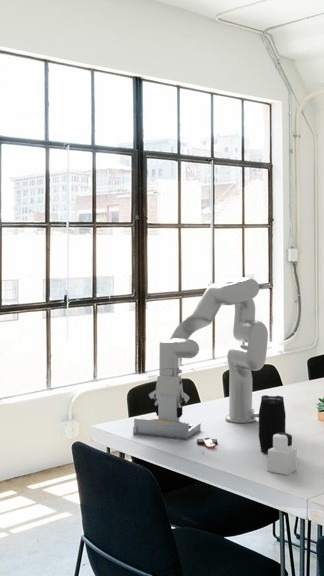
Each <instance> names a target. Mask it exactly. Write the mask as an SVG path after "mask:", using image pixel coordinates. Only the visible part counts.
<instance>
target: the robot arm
mask: <svg viewBox="0 0 324 576" xmlns="http://www.w3.org/2000/svg"><path fill="white" fill-rule="evenodd" d="M259 292H260V285H259V283H258V281H257V280H256V279H253V278H251V277H241V276H239V277H238V276H237V277H236V276H234V277H229V278H227V279H226V280H225V282H224V283H212V284H209V285H208V287H206V290H205V291H204V293H203V294H202V296H201V298H200V300H199V301H198V303H197V305H196V307H195V309H194V311H193V312H192V313H191V314H189V316H187V317H186V318H184V320H183V321H182V322H180V323H179V324H178V325H177V327H176V328H175V330H174V331H173V332H172V335H171V336H170V339H164V340H161V341H160V342H159V357H158V359H159V361H158V362H159V367H158V368H159V369H158V370H159V373H158V375H157V377H156V378H157V379H156V385H155V389H154V390H153V391H151V392H150V393H148V396H149V398H150V399H151V401H152V403H153V404H154V406H155V413H156V416H157V417H158V396H159V395H166V396H177V405H178V408H177V418H179V419H180V418H181V417H182V416H183V407H184V406H185V405H186V404H187V402H188V401H189V400H190V396H189V395H188V394H187V393H185V392H184V389H183V382H182V377H181V374H183V370H182V369H180V367H179V365H180V364H179V363H180V361H179V360H180V359H193V358H196V357H197V355H198V354H199V351H200V347H199V344H198V342H196V341H195V340H194V339H190V337H191V336H192V335H193V334H194V333H195V332H196V331H198V330H200V329H203V328H205V327H208V326H210V325H211V324H212V323H213V321H214V319H215V317H216V315H217V314H218V312H219V311H220V308H221V307H222V306H234V319H233V327H232V328H233V329H232V333H233V337H234V339H235V340H236V341H238V342H241V343H242V342H243V343H246V344H247V345H246V344H235V345H233V346H231V347H230V348H229V349H228V351H227V364H228V370H229V373H228V375H229V387H228V389H229V397H228V398H229V399H228V402H229V403H228V404H229V406H228V407H229V408H228V410H229V411H228V412H229V413H228V414H227V415H225V421H227V422H231V423H237V424H249V423H253V422H255V421H256V419H257V418H258V419H259V411H254V410H255V408H253V375H252V371H255V372H256V371H259V370H261V369H262V368H263V367H264V365H265V363H266V360H267V359H266V358H267V348H268V340H269V332H268V327H267V326H266V324H265V323H263V322H262V321H259V320H256V304H255V301H254V298H256V296H258V295H259ZM182 399H183V401H182Z"/></svg>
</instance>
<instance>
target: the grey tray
mask: <svg viewBox="0 0 324 576" xmlns="http://www.w3.org/2000/svg"><path fill="white" fill-rule="evenodd" d="M133 419H134V421H133V423H134V425H133V427H132V434H133V435H135V436H136V435H137V436H145V437H146V436H147V437H155V438H162V439H163V438H164V439H170V440H171V439H173V440H183V441H188V440H189V439H191V438H192V437H194V435H196V434H197V433H199V432H200V431H201V422H197V423H196V424H190V422H183V421H182V422H181V421H179V422H173V421H171V420H161V419H158V418H141V417H140V418H139V417H134V418H133Z"/></svg>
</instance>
